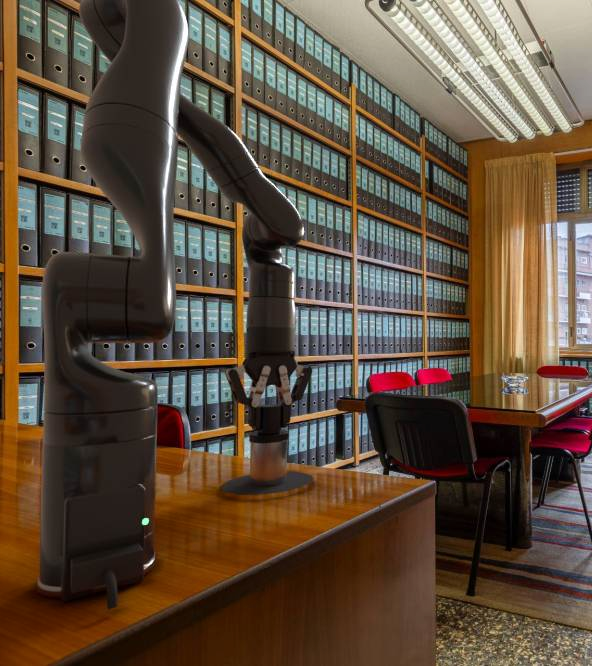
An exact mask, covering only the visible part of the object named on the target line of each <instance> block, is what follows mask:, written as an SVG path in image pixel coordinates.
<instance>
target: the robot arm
mask: <svg viewBox="0 0 592 666" xmlns="http://www.w3.org/2000/svg"><path fill="white" fill-rule="evenodd" d="M78 12H79V18H80V20H81V23H82V25H83V28H84V30H85V31H86V33H87V35H88V36H89V37H90V39H91V41H92V42H93V43H94V45H95V46H96V47H97V48H98V49H99V51H100V52H101V53H102V54H103V55H104V57H105V58H106V59H107V61H109V62H110V64H109V65H108V66H107V69H106V70H105V71H104V73H103V74H102V76H101V77H100V79H99V81H98V82H97V84H96V86H95V88H94V89H93V91H92V93H91V95H90V96H89V99H88V100H87V104H86V105H85V106H86V107H85V110H84V115H83V122H82V131H81V140H80V147H79V149H80V151H79V152H80V157H81V160H82V162H83V165H84V168H85V170H86V171H87V173H88V174H89V176H90V178H91V179H92V180H93V181H94V183H95V184H96V186H97V187H98V189H99V190H100V191H101V192H102V193H103V194H104V196H105V197H106V198H107V200H108V201H109V202H110V203H111V204H112V205H113V207H114V208H115V209H116V210H117V211H118V213H119V214H120V215H121V217H122V218H123V219H124V221H125V223H126V225H128V227H129V229H130V230H131V233H132V235H133V236H134V239H135V241H136V243H137V245H138V248H139V252H140V254H141V255H140V256H130V255H117V254H104V253H95V252H94V253H91V252H79V251H59V252H56V253H55V254H53V255H52V256H51V257H50V258H49V259H48V261H47V263H46V265H45V268H44V271H43V277H42V285H41V292H42V293H41V305H42V307H41V308H42V322H43V323H42V325H43V342H44V343H43V344H44V346H43V347H44V366H43V367H44V371H43V372H44V373H43V374H44V376H43V387H44V388H43V394H44V395H43V396H44V397H43V420H42V422H43V423H42V424H43V425H42V450H41V451H42V452H41V483H40V485H41V486H40V488H41V490H40V519H39V521H40V523H39V527H40V528H39V567H38V568H39V571H38V577H37V584H36V585H37V586H36V587H37V588H36V590H37V593H38V594H40V595H42V596H43V597H49V598H60V599H61V601H62V602H69V601H72V600H76V599H80V598H83V597H87V596H90V595H94V594H95V595H96V594H98V593H103V592H106V610H111V609H115V608H118V605H119V604H118V602H119V601H118V600H119V599H118V598H119V597H118V595H119V594H118V588H121V587H125V586H128V585H133V584H136V583H139V582H142V581H144V580H145V575H147V574H148V573H150V572H151V571H152V570H153V568H154V567H155V565H156V552H155V535H156V534H155V532H156V531H155V530H156V527H155V526H156V525H155V522H156V518H155V517H156V484H157V440H158V439H157V438H158V437H157V436H158V408H159V407H158V404H159V402H158V401H159V389H158V385H157V383H156V381H155V380H153V379H152V378H149V377H147V376H142V375H138V374H134V373H131V372H126V371H123V370H120V369H117V368H115V367H112V366H110V365H107V364H105V363H104V362H102V361H100V360H99V359H98V358H96V357H94V356H93V355H92V354H91V352H90V348H89V344H151V343H152V344H153V343H154V344H155V343H160V342H163V341H165V340H166V339H167V338H168V337H169V336H170V335H171V333H172V331H173V328H174V324H175V319H176V310H177V309H176V308H177V283H176V282H177V281H176V279H177V278H176V258H175V234H174V215H175V214H174V211H175V198H176V197H175V196H176V195H175V194H176V184H177V183H176V182H177V172H178V155H179V154H178V153H179V138H180V139H181V140H182V142H184V143H185V145H186V146H187V147H188V148H189V150H190V151H191V152H192V154H193V155H194V156H195V158H196V159H197V161H198V162H199V163H200V164H201V166H202V167H203V169H204V171H206V173H207V174H208V176H209V177H210V179H211V180H212V181H213V183H214V185H216V187H217V188H218V190H219V191H220V192H221V194H222V195H223V196H224V197H225V198H226V199H227V200H228V201H229V202H232V203H235V204H236V203H237V204H240V205H242V206H244V207H245V208H246V209H247V210H248V211H249V214H247V216H246V217H245V219H244V221H243V224H242V228H241V240H242V241H241V242H242V245H243V250H244V256H245V260H246V264H247V267H248V271H249V277H248V278H249V280H248V302H247V309H246V324H245V325H246V327H245V328H246V329H245V331H246V333H245V357H244V360H243V362H242V364H241V365H239V366H235V367H232V368H226V369H225V370H224V376H225V377H226V381H227V382H228V383H227V384H228V385H229V387H230V390H231V393H232V395H233V398H234V400H235V401H234V402H236V403H238V404H240V405H245V406H246V407H247V424H248V427H251V430H253V431H257V430H260V421H261V408H260V407H259V406H260V403H261V400H262V397H263V394H264V393H265V389H266V387H270V386H274V387H275V391H276V393H277V395H278V401H279V405H281V406H282V407H281V428H287V426H288V424H290V423H291V419H292V418H291V416H292V415H291V413H292V411H291V410H292V404H293V403H295V402H297V401H302V399H303V397H304V395H305V392H306V389H307V387H308V384H309V381H310V378H311V376H312V374H313V368H312V367H310V366H303V365H301V364H298V361H297V360H296V330H297V329H296V326H297V311H296V303H295V301H296V300H295V299H296V298H295V297H296V295H295V293H296V274H295V271H294V269H293V267H292V266H290V265H289V264H287V263H284V259H283V252H282V249H287V248H292V247H295V246H297V245H298V244H299V243H301V241H302V240H303V238H304V235H305V224H304V221H303V218H302V216H301V213H300V212H299V210H298V209H297V207H296V206H295V205H294V203H293V202H291V200H290V199H289V198H287V196H286V195H285V194H283V192H282V191H281V190H280V189H279V188H278V187H277V186H276V185H275V184H274V183H273V182H272V181H271V180H270V179H269V178H267V177H266V176H265V174H264V172H263V171H262V169H261V168H260V167H259V165H258V163H257V161H256V159H255V158H254V157H253V156H252V154H251V153H250V151H249V149H248V148H247V147H246V145H245V143H244V142H243V141H242V139H241V138H240V136H238V135H237V134H236V132H234V131H233V130H232V128H230V127H229V126H228V125H226V124H225V123H224V122H223V121H222V120H219V119H218V118H216V117H215V116H214V115H212V114H211V113H209V112H207V111H206V110H205V109H203V108H201V107H200V106H198V105H197V104H195V103H194V102H192V101H191V100H189V99H188V98H187V96H184V95H183V94H182V93H181V83H182V76H183V72H184V67H185V61H186V57H187V51H188V47H189V41H190V40H189V39H190V31H189V25H188V20H187V17H186V14H185V12H184V9H183V7H182V5H181V4H180V1H179V0H81V1H80V4H79V7H78ZM244 372H245V373H246V375H247V376H248V377H249V378H250V380H251V383H250V385H249V394H248V396H247V394H246V390H245V388H244V386H243V383H242V380H243V379H244ZM294 372H295V374H294ZM293 374H294V375H295V377H296V379H295V382H294V384H293V386H292V390H291V385H290V381H289V379H290V377H291V376H292V375H293Z"/></svg>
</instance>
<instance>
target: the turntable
mask: <svg viewBox="0 0 592 666" xmlns="http://www.w3.org/2000/svg"><path fill="white" fill-rule="evenodd" d="M313 480H314V477H313V475H311V474H309V473H306V472H301V471H293V470H291V471H288V470H287V480H286V482H284V483H281V484H278V485H273V486H261V487H260V486H252V485H250V474H247V475H243V476H238V477H235V478H232V479H230V480H227V481H226V482H223V483H222V484H221V485H220V490H221V491H222V492H224V493H226V494H232V495H239V496H240V495H244V496H254V495H255V496H256V495H257V496H259V495H269V494H276V493H277V494H278V493H282V492H288V491H292V490H296V489H299V488H302V487H304V486H307V485H309V484H310V483H312V482H313Z"/></svg>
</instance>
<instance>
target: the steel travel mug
mask: <svg viewBox="0 0 592 666" xmlns="http://www.w3.org/2000/svg"><path fill="white" fill-rule="evenodd" d="M259 407H260V408H261V421H260V430H254V431H252V432H250V433H249V435H248V438H249V439H248V442H249V443H250V444H249V445H250V447H249V475H250V485H252V486H260V487H261V486H273V485H278V484H281V483H284V482H286V480H287V471H288V440H289V438H290V432H289V430H287V429H282V427H281V407H282V406H281V405H280V404H274V403H273V404H269V403H268V404H261V405H260V404H259Z"/></svg>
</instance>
